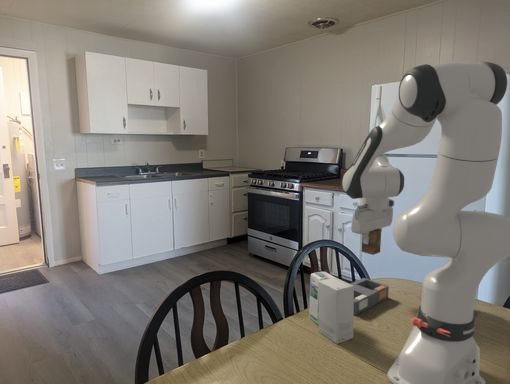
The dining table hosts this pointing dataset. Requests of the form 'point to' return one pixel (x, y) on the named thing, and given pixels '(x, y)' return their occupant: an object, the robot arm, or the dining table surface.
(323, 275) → the syrup box
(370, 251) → the walnut plug
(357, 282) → the socket block
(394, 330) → the dining table surface
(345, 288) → the skincare box
